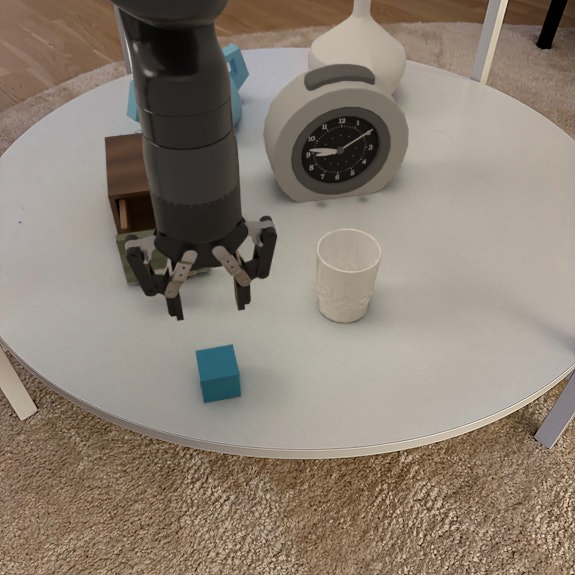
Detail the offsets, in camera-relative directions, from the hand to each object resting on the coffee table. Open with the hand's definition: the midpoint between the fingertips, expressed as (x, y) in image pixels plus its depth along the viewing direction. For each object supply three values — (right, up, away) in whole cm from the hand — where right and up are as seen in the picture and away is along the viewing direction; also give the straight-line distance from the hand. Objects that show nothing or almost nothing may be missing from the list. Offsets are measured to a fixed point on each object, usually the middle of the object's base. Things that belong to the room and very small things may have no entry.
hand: (210, 308), depth 62 cm
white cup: (+15, 0, +19) cm, 24 cm away
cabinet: (-12, +14, +32) cm, 37 cm away
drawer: (-9, +7, +24) cm, 26 cm away
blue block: (0, -9, +10) cm, 14 cm away
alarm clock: (+15, +19, +37) cm, 45 cm away
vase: (+21, +39, +57) cm, 72 cm away
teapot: (-10, +33, +50) cm, 61 cm away
